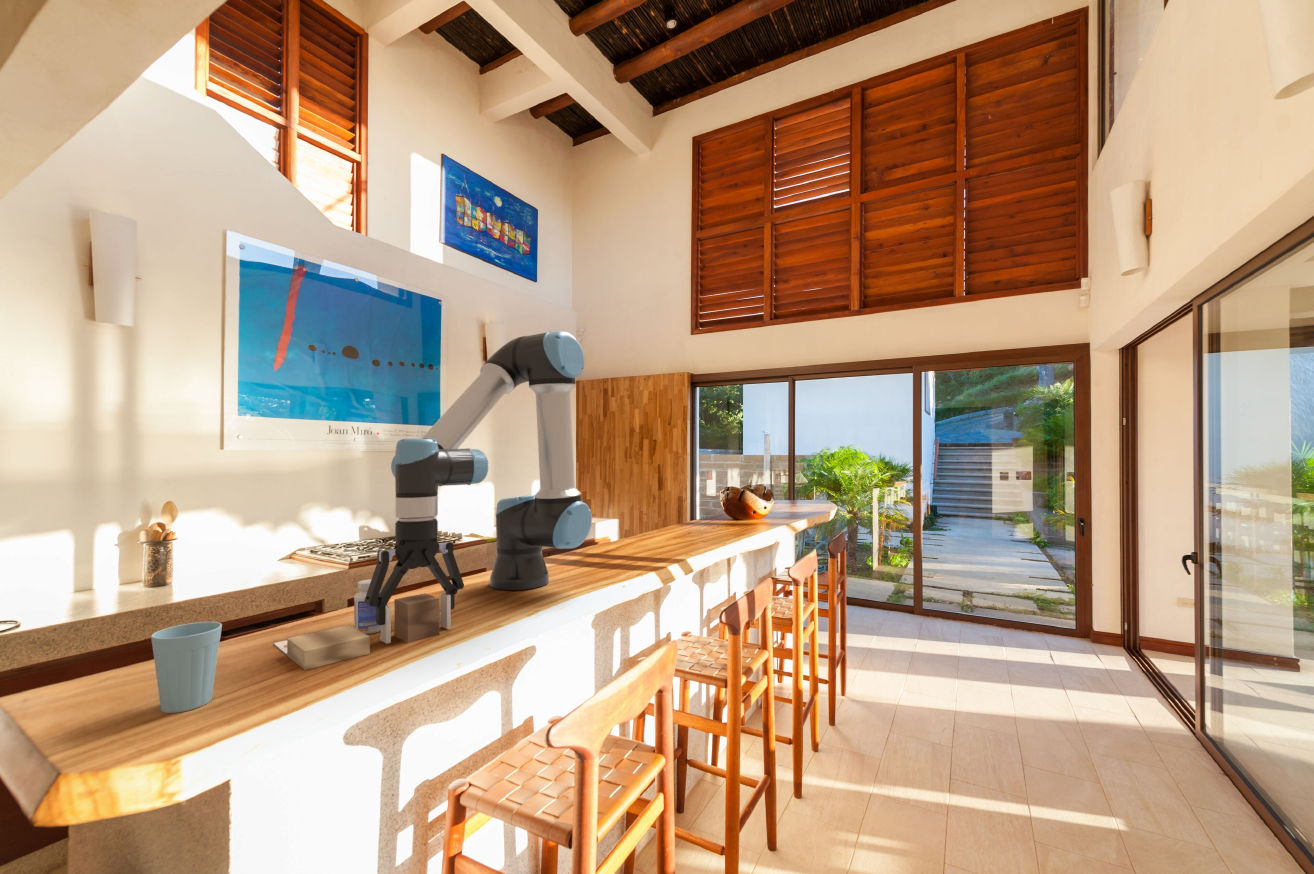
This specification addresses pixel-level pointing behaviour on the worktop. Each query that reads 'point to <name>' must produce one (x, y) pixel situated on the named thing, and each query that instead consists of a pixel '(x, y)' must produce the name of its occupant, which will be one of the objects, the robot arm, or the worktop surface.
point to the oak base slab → (327, 646)
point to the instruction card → (282, 646)
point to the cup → (186, 664)
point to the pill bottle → (365, 610)
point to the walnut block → (416, 617)
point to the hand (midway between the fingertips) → (416, 634)
